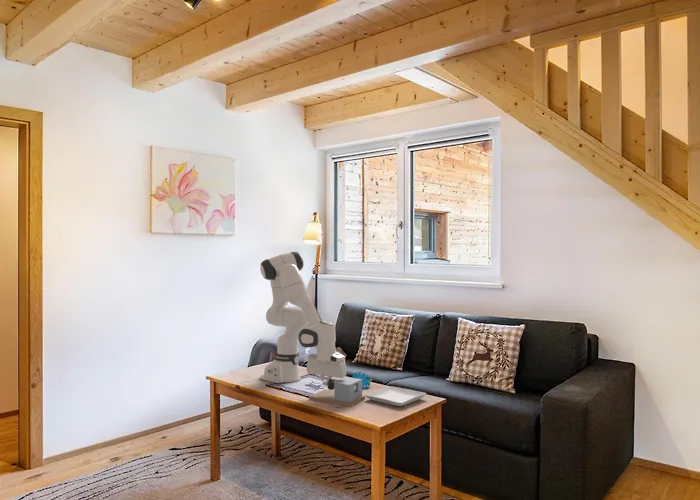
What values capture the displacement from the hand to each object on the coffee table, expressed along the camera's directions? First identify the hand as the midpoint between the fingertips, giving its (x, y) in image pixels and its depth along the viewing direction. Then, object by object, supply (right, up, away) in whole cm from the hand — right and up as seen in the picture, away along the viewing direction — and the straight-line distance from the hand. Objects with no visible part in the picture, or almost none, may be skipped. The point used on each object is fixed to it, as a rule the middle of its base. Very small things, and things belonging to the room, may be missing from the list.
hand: (326, 384), depth 249 cm
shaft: (+8, -2, -4) cm, 9 cm away
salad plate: (+33, -7, -3) cm, 33 cm away
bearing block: (+5, -6, -3) cm, 9 cm away
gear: (+18, -6, +18) cm, 26 cm away
